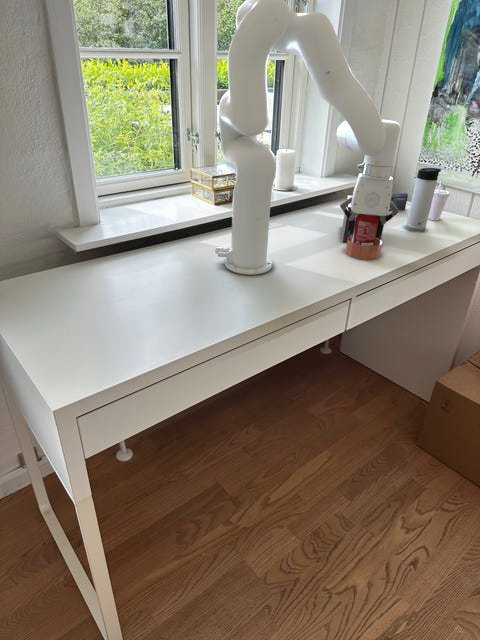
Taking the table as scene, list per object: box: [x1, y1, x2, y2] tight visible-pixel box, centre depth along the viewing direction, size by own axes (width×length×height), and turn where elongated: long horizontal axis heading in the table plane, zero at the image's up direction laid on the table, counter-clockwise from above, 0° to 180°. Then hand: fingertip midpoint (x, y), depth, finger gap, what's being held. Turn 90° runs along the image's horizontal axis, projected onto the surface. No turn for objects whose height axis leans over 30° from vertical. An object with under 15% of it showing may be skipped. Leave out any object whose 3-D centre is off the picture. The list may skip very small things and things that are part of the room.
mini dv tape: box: [389, 192, 409, 212], centre depth 174 cm, size 8×2×6 cm, turn 103°
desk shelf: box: [341, 194, 386, 244], centre depth 146 cm, size 11×13×11 cm
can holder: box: [345, 235, 383, 261], centre depth 136 cm, size 10×10×4 cm
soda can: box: [350, 213, 380, 246], centre depth 133 cm, size 7×7×12 cm
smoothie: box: [428, 178, 451, 221], centre depth 164 cm, size 6×6×14 cm
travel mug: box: [405, 167, 442, 233], centre depth 152 cm, size 6×7×20 cm
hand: (363, 234), depth 134 cm, fingers closed on soda can, 6 cm apart
